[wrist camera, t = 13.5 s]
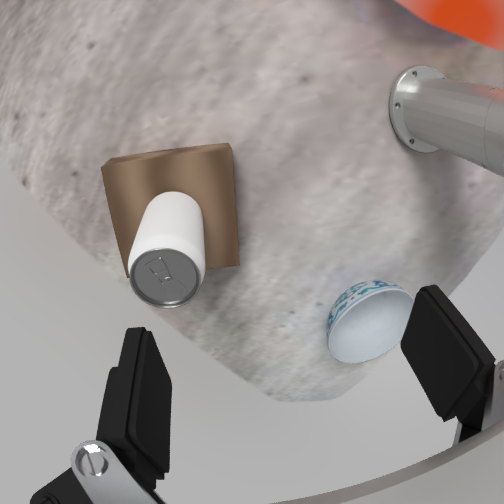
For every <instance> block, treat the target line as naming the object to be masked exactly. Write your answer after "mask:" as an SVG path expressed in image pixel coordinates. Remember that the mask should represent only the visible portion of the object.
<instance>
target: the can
mask: <svg viewBox="0 0 504 504" xmlns="http://www.w3.org/2000/svg"><path fill="white" fill-rule="evenodd" d="M128 271H129V278H130V284H131V287H132V289H133V291H134V292H135V294H136V295H137V296H138V297H139V298H140V299H141V300H143V301H144V302H146V303H147V304H149V305H152V306H154V307H158V308H176V307H180V306H182V305H185V304H186V303H188V302H190V301H191V300H192V299H193V298H194V297H195V296H196V294H197V293H198V291H199V288H200V285H201V283H202V281H203V278H204V275H205V249H204V231H203V217H202V212H201V209H200V207H199V205H198V204H197V202H196V201H195V200H194V199H193V198H191V197H190V196H188V195H186V194H184V193H181V192H165V193H162V194H160V195H158V196H156V197H155V198H154V199H153V200H152V201H151V202H150V203H149V205H148V206H147V208H146V210H145V213H144V215H143V218H142V221H141V223H140V226H139V229H138V231H137V234H136V237H135V240H134V243H133V246H132V249H131V252H130V256H129V260H128Z"/></svg>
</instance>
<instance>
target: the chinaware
mask: <svg viewBox="0 0 504 504" xmlns="http://www.w3.org/2000/svg"><path fill="white" fill-rule="evenodd" d="M414 301H415V300H414V298H413V297H412V295H411V294H410V293H408V292H407V291H406V290H404V289H403V288H401V287H399V286H398V285H395V284H393V283H390V282H386V281H380V280H373V281H366V282H362V283H356V284H353V285H351V286H349V287H348V288H346V289H345V290H344V291H343V292H342V293H341V295H340V296H339V298H338V300H337V301H336V303H335V304H334V306H333V308H332V310H331V312H330V315H329V318H328V322H327V342H328V347H329V351H330V353H331V355H332V356H333V357H334V358H335V359H337V360H338V361H340V362H343V363H352V364H353V363H362V362H366V361H369V360H372V359H374V358H377V357H379V356H381V355H382V354H384V353H386V352H387V351H389V350H390V349H391V348H393V347H394V346H395V345H396V344H397V343H398V342H399V341H400V340H401V339H402V337H403V334H404V331H405V328H406V326H407V323H408V320H409V317H410V313H411V310H412V307H413V304H414Z"/></svg>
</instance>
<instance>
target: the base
mask: <svg viewBox="0 0 504 504" xmlns="http://www.w3.org/2000/svg"><path fill="white" fill-rule="evenodd" d="M101 171H102V176H103V181H104V186H105V191H106V196H107V201H108V205H109V210H110V214H111V219H112V223H113V227H114V231H115V235H116V239H117V243H118V247H119V251H120V254H121V258H122V262H123V265H124V269H125V272H126V276H127V278H129V271H128V260H129V256H130V252H131V249H132V246H133V243H134V240H135V237H136V234H137V231H138V229H139V226H140V223H141V221H142V218H143V215H144V213H145V210H146V208H147V206H148V205H149V203H150V202H151V201H152V200H153V199H154V198H155V197H156V196H158V195H160V194H162V193H165V192H181V193H184V194H186V195H188V196H190V197H191V198H193V199H194V200H195V201H196V202H197V204H198V205H199V207H200V209H201V212H202V217H203V231H204V249H205V269H213V268H221V267H230V266H238V265H240V264H239V249H238V234H237V219H236V204H235V188H234V172H233V155H232V148H231V147H230V145H229V143H223V144H212V145H202V146H193V147H185V148H176V149H169V150H162V151H155V152H148V153H141V154H135V155H129V156H123V157H118V158H112V159H110V160H109V161H107V162H106V163H105V164H104V165H103V166H102V167H101Z"/></svg>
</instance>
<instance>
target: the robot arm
mask: <svg viewBox="0 0 504 504" xmlns="http://www.w3.org/2000/svg"><path fill="white" fill-rule="evenodd" d="M389 110H390V117H391V122H392V125H393V127H394V130H395V132H396V134H397V135H398V137H399V138H400V139H401V141H402V142H403V143H404V144H405V145H407V146H408V147H409V148H412V149H414V150H416V151H419V152H422V153H430V152H435V151H437V150H439V149H442V150H445V151H447V152H449V153H452V154H454V155H457V156H459V157H461V158H463V159H466V160H468V161H470V162H472V163H475V164H477V165H479V166H481V167H483V168H485V169H487V170H489V171H491V172H493V173H495V174H497V175H500V176H502V177H504V89H502V88H498V87H493V86H488V85H482V84H477V83H471V82H464V81H457V80H450V79H447V78H446V77H445V76H444V75H443V74H442V73H441V72H439V71H438V70H436V69H434V68H432V67H428V66H414V67H411V68H409V69H407V70H405V71H404V72H403V73H402V74H401V75H399V77H398V78H397V80H396V81H395V83H394V85H393V88H392V91H391V95H390V103H389ZM401 350H402V352H403V354H404V355H405V357H406V358H407V360H408V362H409V364H410V366H411V367H412V369H413V371H414V373H415V375H416V376H417V378H418V380H419V382H420V384H421V386H422V387H423V389H424V391H425V393H426V395H427V397H428V398H429V400H430V402H431V404H432V406H433V408H434V410H435V412H436V414H437V415H438V416H440V417H442V419H443V421H444V422H445V421H447V420H450V419H452V418H454V417H455V416H457V419H458V424H457V430H456V433H455V438H454V442H453V446H452V447H451V448H449V449H447V450H445V451H443V452H441V453H439V454H437V455H434V456H432V457H430V458H428V459H425V460H423V461H421V462H418V463H416V464H414V465H411V466H408V467H406V468H403V469H401V470H398V471H396V472H393V473H390V474H387V475H385V476H382V477H379V478H376V479H373V480H370V481H367V482H364V483H361V484H357V485H354V486H351V487H347V488H343V489H339V490H336V491H332V492H327V493H323V494H319V495H315V496H310V497H305V498H300V499H295V500H290V501H284V502H278V503H272V504H504V360H502V361H500V362H498V364H497V365H495V364H494V362H495V360H496V359H495V358H494V356H493V355H492V354H491V352H490V351H489V349H488V348H487V347H486V345H485V344H484V343H483V341H482V340H481V339H480V338H479V336H478V335H477V334H476V332H475V331H474V330H473V329H472V327H471V326H470V325H469V323H468V322H467V321H466V320H465V318H464V317H463V316H462V315H461V313H460V312H459V311H458V310H457V308H456V307H455V306H454V305H453V304H452V302H451V301H450V300H449V299H448V298H447V297H446V295H445V294H444V293H443V292H442V291H441V290H440V288H439V287H438V286H437V285H430V286H425V287H422V288H421V289H420V290H419V292H418V293H417V294H416V297H415V301H414V304H413V307H412V310H411V313H410V317H409V320H408V323H407V326H406V328H405V331H404V334H403V337H402V340H401ZM171 397H172V383H171V379H170V376H169V374H168V372H167V369H166V367H165V364H164V362H163V360H162V357H161V355H160V352H159V350H158V347H157V345H156V342H155V339H154V337H153V334H152V332H151V331H146V329H145V327H137V328H128V329H127V331H126V334H125V338H124V343H123V347H122V351H121V355H120V360H119V365H118V367H112V368H111V369H110V372H109V375H108V380H107V384H106V389H105V393H104V398H103V403H102V408H101V413H100V419H99V424H98V430H97V436H96V440H91V441H86V442H83V443H81V444H80V445H79V446H78V447H76V449H75V450H74V452H73V453H72V457H71V468H69V469H68V470H67V471H65V472H64V473H62V474H61V475H60V476H58V477H57V478H56V479H54V480H53V481H52V482H50V483H48V484H47V485H46V486H44V487H43V488H41V489H40V490H38V491H37V492H36V493H35V494H34V495H33V496H32V498H31V500H30V504H167V503H166V502H165V501H164V500H163V499H162V498H161V497H160V496H159V495H158V493H156V491H155V490H154V489H155V488H156V479H158V480H164V473H168V472H169V467H170V466H169V465H170V464H169V463H170V422H171V421H170V420H171V419H170V418H171Z"/></svg>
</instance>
